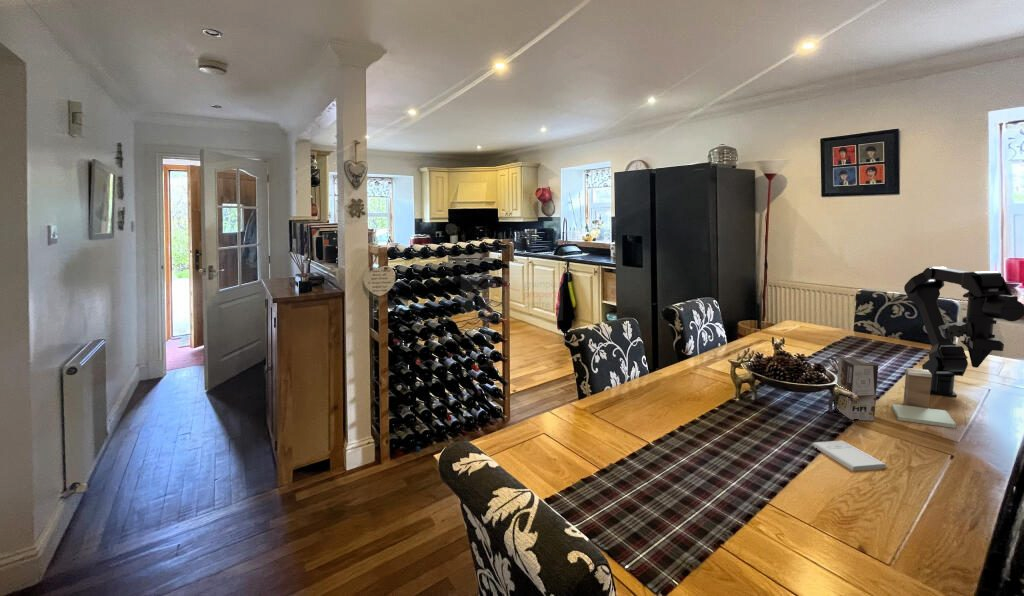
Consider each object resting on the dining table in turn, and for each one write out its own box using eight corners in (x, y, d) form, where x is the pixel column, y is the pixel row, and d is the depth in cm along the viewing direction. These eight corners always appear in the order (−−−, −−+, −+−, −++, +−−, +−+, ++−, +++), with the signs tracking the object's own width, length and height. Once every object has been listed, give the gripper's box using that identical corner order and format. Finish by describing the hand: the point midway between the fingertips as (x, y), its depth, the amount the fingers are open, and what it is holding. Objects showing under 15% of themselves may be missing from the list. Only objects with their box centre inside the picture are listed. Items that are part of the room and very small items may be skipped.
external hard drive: (852, 473, 105) (812, 448, 117) (886, 470, 106) (843, 445, 118) (852, 466, 105) (812, 442, 117) (886, 463, 106) (843, 439, 118)
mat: (891, 406, 140) (892, 403, 140) (945, 413, 134) (945, 410, 134) (898, 419, 131) (898, 416, 131) (955, 428, 125) (956, 424, 124)
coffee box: (875, 421, 131) (879, 365, 128) (849, 420, 132) (853, 364, 130) (858, 409, 140) (862, 356, 137) (834, 408, 141) (837, 356, 139)
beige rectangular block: (903, 402, 143) (906, 367, 142) (924, 405, 141) (927, 369, 139) (906, 407, 139) (909, 372, 138) (928, 410, 136) (931, 374, 135)
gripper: (935, 308, 147) (931, 356, 149) (951, 318, 131) (946, 372, 133) (984, 310, 141) (979, 360, 143) (1007, 321, 125) (1001, 377, 128)
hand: (974, 367), depth 137 cm, fingers closed
